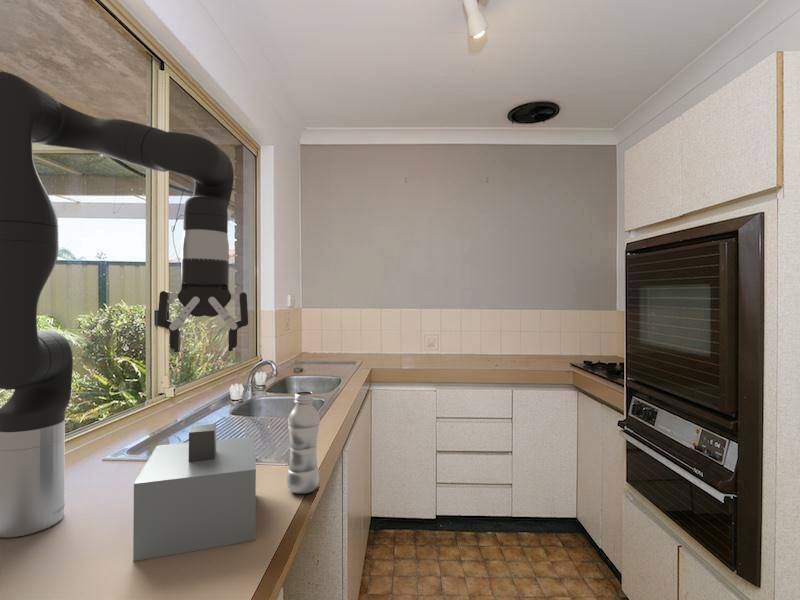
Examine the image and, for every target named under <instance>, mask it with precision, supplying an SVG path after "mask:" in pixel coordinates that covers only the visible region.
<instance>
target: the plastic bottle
mask: <svg viewBox="0 0 800 600" xmlns="http://www.w3.org/2000/svg"><path fill="white" fill-rule="evenodd" d="M313 403H314V393H313V392H312V391H309V390H308V391H307V390H305V391H304V390H303V391H297V392H295V393H294V404H295V406H294V407H292V410H291V411H290V413H289V414H288V418H287V427H288V433H289V434H288V435H289V445H290V447H289V460H288V461H289V463H288V469H287V474H286V486H287V488H288V489H289V492H292V493H293V494H299V495H302V494H309V493H311V492H314V491H315V490H316V488H317V487H318V486H319V481H320V473H319V467H318V457H317V455H318V452H317V450H318V449H317V447H318V446H317V444H318V434H319V428H320V421H321V417H320V414H319V412H318V410H317V409H316V408H315V406H314V405H313Z"/></svg>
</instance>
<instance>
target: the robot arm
mask: <svg viewBox="0 0 800 600" xmlns="http://www.w3.org/2000/svg"><path fill="white" fill-rule="evenodd" d="M33 144H35V145H39V146H40V145H42V146H50V147H58V148H66V149H67V148H68V149H75V150H80V151H86V152H92V153H96V154H98V155H102V156H106V157H109V158H112V159H115V160H119V161H121V162H124V163H128V164H131V165H135V166H138V167H141V168H145V169H147V170H148V169H149V170H152V171H157V172H163V173H164V172H165V173H166V172H172V173H176V174H179V175H182V176H185V177H187V178H190V179H192V180H193V181H194V186H193V187H194V189H193V193H192V194H193V195H192V196H191V197H188V198H187V199H186V200H185V201H184V205H183V221H182V222H183V232H182V233H183V234H182V239H181V259H180V262H181V264H180V265H181V268H180V269H181V270H180V271H181V272H180V273H181V274H180V289H179V291H178V292H171V291H170V292H169V291H168V290H167V291H166V290H162V291H160V292H159V298H158V299H159V300H158V310H157V323H156V324H157V326H158V327H161V328H165V329H168V330H169V348H170V350H173V353H175V354H176V353H180V352H181V334H182V333H181V329H180V327H181V326H182V325H183V324H184V322H186V320H187V319H188V318H189V317H190V316H193V317H195V318H196V317H198V318H201V317H203V316H205V317H210V318H213V317H214V318H215V317H217V316H218V315H219V316H220V318H221V319H222V320H223V321H224V322H225V323H226V324H227V326H228V327H229V329H228V342H227V343H228V344H227V346H228V349H227V350H228V352H233V351H234V349H236V348H237V346H238V330H239V329H240V328H243V327H247V326H249V314H248V313H249V310H248V295H247V293H246V292H240V293H231V292H230V287H229V278H230V277H229V274H230V273H229V272H230V271H229V270H230V269H229V268H230V267H229V265H230V264H229V263H230V245H229V244H230V243H229V238H228V236H229V235H228V231H229V230H228V228H229V227H228V226H229V225H228V223H229V221H228V219H229V218H228V217H229V216H228V209H229V205H230V202H231V199H232V198H231V197H232V192H233V188H234V186H233V185H234V182H235V181H234V179H235V177H234V175H235V174H234V167H233V163H232V161H231V159H230V157H229V156H228V155H227V154H226V153H225V152H224V151H223V150H222V149H221V148H219V146H217V145H216V144H215V143H214V142H212V141H210V140H208V139H207V138H205V137H201V136H198V135H195V134H191V133H185V132H177V131H176V132H175V131H166V130H163V129H160V128H157V127H153V126H150V125H148V124H143V123H139V122H136V121H133V120H132V121H131V120H128V119H121V118H101V117H96V116H94V115H93V116H92V115H89V114H87V113H84V112H81V111H78V110H76V109H75V108H72V107H70V106H68V105H66V104H64V103H62V102H60V101H58V100H56V99H55V98H54V97H53V96H52V95H51V94H49V93H47V92H46V91H44V90H42V89H41V88H40V87H37V86H36V85H34V84H32V83H30V82H28V81H27V80H25V79H24V78H21V77H20V76H17V75H15V74H14V73H11V72H7V71H0V390H6V391H9V390H14V391H13V394H12V395H11V397H10V398H9V400H8V401H7V402H6V403H5V404H3V406H2V407H0V538H5V539H6V538H16V537H22V536H27V535H32V534H35V533H37V532H40V531H44V530H45V529H48V528H50V527H52V526H54V525H56V524H57V523H59V522H60V521H62V519H63V518H64V516H65V481H66V480H65V478H66V477H65V472H66V471H65V469H66V467H65V461H66V460H65V459H66V457H65V456H66V455H65V451H66V450H65V448H66V447H65V445H66V444H65V443H66V440H65V439H66V438H65V437H66V435H65V434H66V433H65V432H66V418H65V417H66V410H67V407H68V406H69V403H70V400H71V397H72V396H71V395H72V385H73V383H72V381H73V370H74V369H73V365H74V362H73V360H74V359H73V352H72V348H71V345H70V342H69V340H68V338H66V337H65V336H64V335H63V334H61V333H59V332H57V331H55V330H49V329H38V321H37V320H38V319H37V318H38V317H37V316H38V305H39V299H40V296H41V293H42V291H43V289H44V287H45V285H46V284H47V282H48V279H49V278H50V276H51V275H52V272H53V270H54V268H55V266H56V264H57V260H58V256H59V251H60V250H59V249H60V248H59V247H60V246H59V220H58V215H57V212H56V210H55V207H54V205H53V202H52V200H51V198H50V196H49V194H48V192H47V190H46V188H45V186H44V185H43V183H42V180H41V178H40V176H39V174H38V172H37V168H36V166H35V161H34V155H33V154H34V153H33ZM176 299H177V300H178V301H179V302H180V304H181V305H182V307H184V308H183V309H182V310H181V311H180V312H179V313H178V315H177V316H176V318H175V319H174V320H173V321H172V320H169V314H170V313H169V312H170V305H173V304H174V303H175V300H176ZM231 300H234V303H235V305H237V306H239V307H240V308H239V309H240V311H239V313H240V319H239V320H236V321H235V319H234V317H232V315H231V314H230V312H229V311H228V310H227V309H226V307H227V305H228V304H229V303H230V301H231Z"/></svg>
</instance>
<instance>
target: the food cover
mask: <svg viewBox="0 0 800 600" xmlns="http://www.w3.org/2000/svg"><path fill="white" fill-rule="evenodd" d="M256 471H257V469H256V447H255V435H254V436H245V437H244V436H243V437H242V436H241V437H234V438H231V437H230V438H220V439H217V423H211V424H210V423H209V424H197V425H195V424H194V425H191V427H190V429H189V432H188V442H181V443H180V442H179V443H169V444H159V445H156V446H155V448H154V450H153V451H152V452H151V454H150V456H149V458H148V460H147V461H146V463H145V465H144V466H143V468H142V470H140V473H139V475H138V476H137V478H136V479H135V481H134V483H133V530H132V531H133V535H132V537H133V542H132V543H133V547H132V548H133V549H132V553H133V555H132V556H133V557H132V562H140V561H143V560H151V559H155V558H161V557H168V556H172V555H173V556H174V555H178V554H183V553H190V552H195V551H196V552H197V551H201V550H202V551H203V550H207V549H213V548H219V547H224V546H225V547H226V546H230V545H235V544H236V545H237V544H241V543H247V542H255V541H256V500H257V499H256V495H257V492H256V490H257V487H256V483H257V480H256V476H257V475H256V473H257V472H256Z"/></svg>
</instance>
